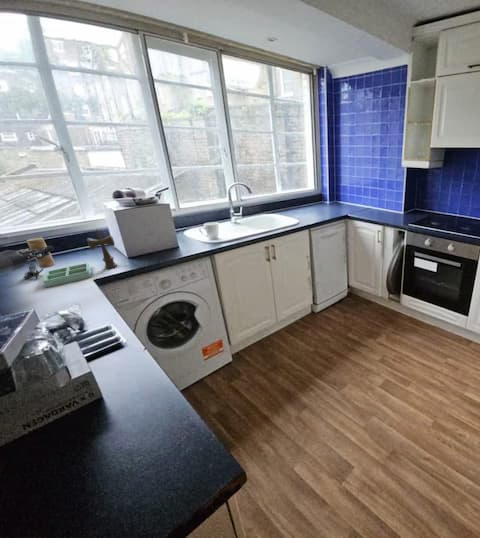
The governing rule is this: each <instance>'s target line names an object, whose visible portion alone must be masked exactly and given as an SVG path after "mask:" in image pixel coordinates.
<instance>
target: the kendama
mask: <svg viewBox="0 0 480 538" xmlns="http://www.w3.org/2000/svg"><path fill="white" fill-rule="evenodd" d="M95 232H96V236H97V239H95V238H92V237H91V238H90V237H87V238H86V241H87V245H88V247H89V249H90V250H91V251H93V250H95V249H96V248H97V247H99V246H100V247H101V251H102V255H103V258H102V261H103V262H104V269H112V268H113V269H114V268H115V267H117V266H118V263H116V262H115V260H114V259H115V258H114V256H112V255H111V254H110V252H109V250H108V249H107V247H106V245H108V246H111V247H112V246H113V247H115V245H116V244H115V239H114V238H113V235H112V234H109V235H107V236H106V237H104V238H102V237H101V235H100V233H99V231H98V229H95Z"/></svg>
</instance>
